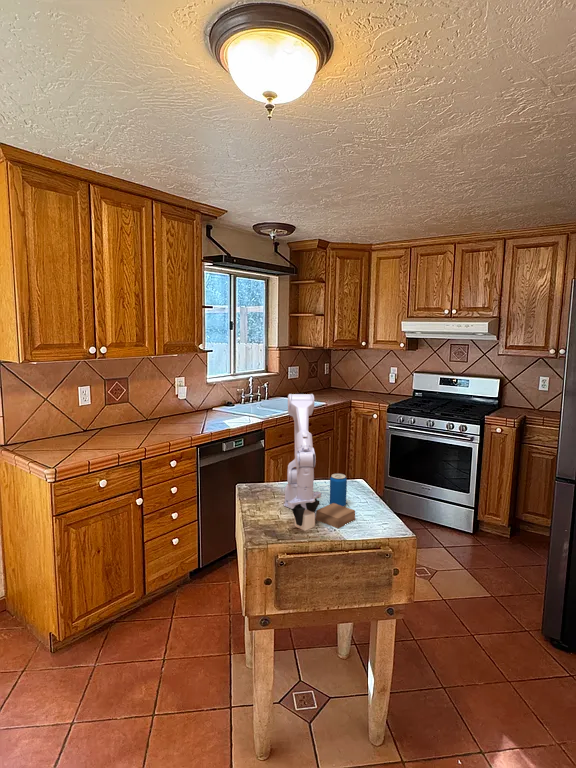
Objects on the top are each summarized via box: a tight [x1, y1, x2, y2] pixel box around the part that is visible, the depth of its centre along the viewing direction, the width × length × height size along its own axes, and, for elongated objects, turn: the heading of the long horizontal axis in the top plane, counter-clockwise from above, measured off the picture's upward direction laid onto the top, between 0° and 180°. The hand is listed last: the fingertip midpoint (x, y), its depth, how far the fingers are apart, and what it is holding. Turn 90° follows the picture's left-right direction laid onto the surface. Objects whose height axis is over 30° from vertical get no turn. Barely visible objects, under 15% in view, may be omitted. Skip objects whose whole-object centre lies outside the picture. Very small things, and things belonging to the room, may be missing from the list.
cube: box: [294, 509, 316, 532], centre depth 158 cm, size 5×5×5 cm
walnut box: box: [315, 503, 356, 529], centre depth 163 cm, size 10×10×4 cm
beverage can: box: [329, 473, 348, 507], centre depth 176 cm, size 6×6×12 cm
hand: (304, 522), depth 158 cm, fingers closed on cube, 5 cm apart
